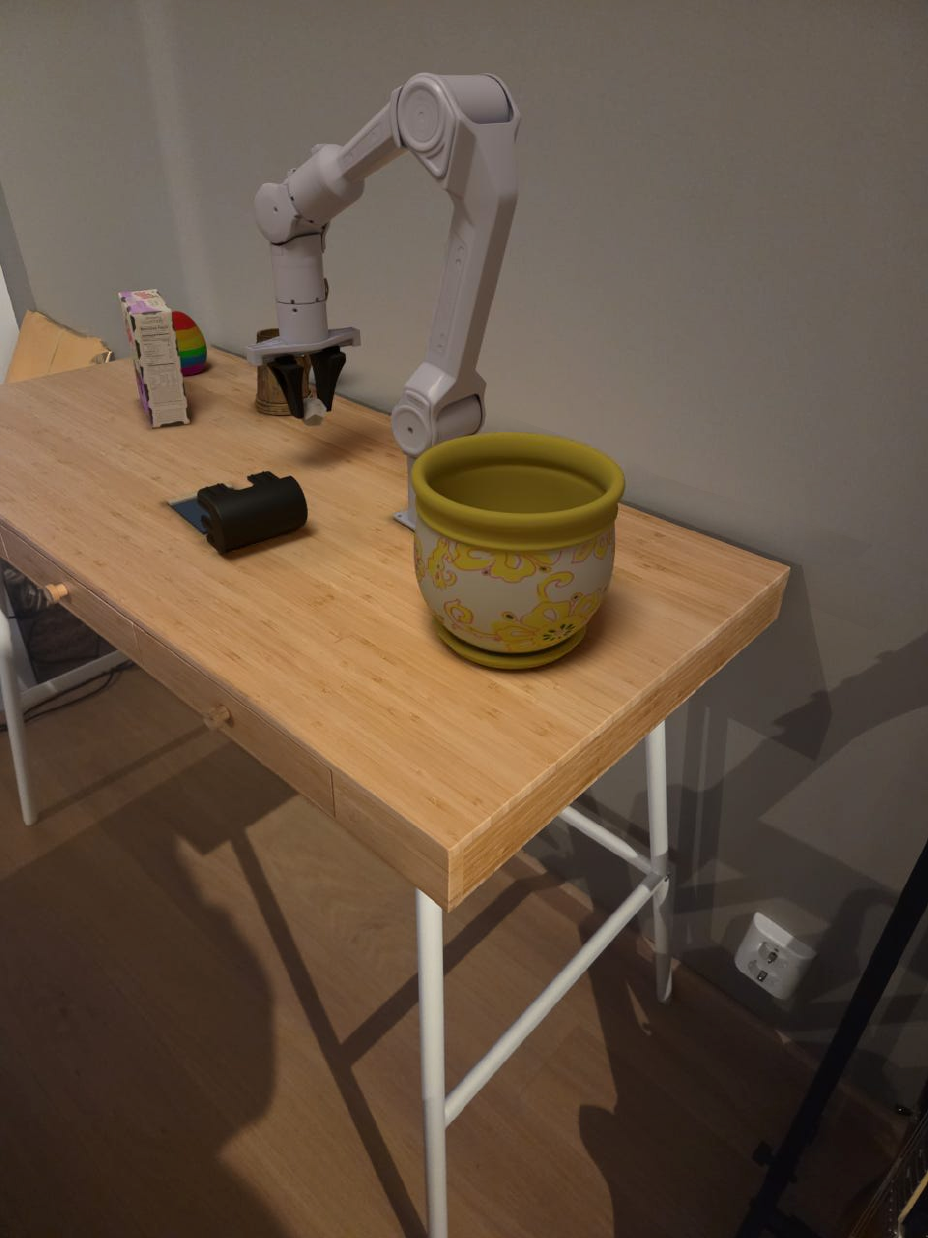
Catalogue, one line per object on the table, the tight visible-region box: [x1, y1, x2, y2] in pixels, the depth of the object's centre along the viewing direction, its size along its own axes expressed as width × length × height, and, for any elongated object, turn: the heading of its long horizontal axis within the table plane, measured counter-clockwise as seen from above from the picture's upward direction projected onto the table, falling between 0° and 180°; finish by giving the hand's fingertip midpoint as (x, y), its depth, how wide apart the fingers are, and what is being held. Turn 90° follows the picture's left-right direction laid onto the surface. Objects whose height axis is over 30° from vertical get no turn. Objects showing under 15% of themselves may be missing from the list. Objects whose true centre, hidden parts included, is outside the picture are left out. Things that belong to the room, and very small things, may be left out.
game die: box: [300, 396, 327, 427], centre depth 103 cm, size 4×4×3 cm
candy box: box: [117, 288, 191, 429], centre depth 122 cm, size 14×6×16 cm, turn 25°
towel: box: [166, 482, 234, 535], centre depth 99 cm, size 10×8×1 cm
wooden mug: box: [254, 277, 330, 416], centre depth 126 cm, size 9×14×18 cm, turn 126°
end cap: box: [196, 470, 309, 555], centre depth 91 cm, size 10×7×7 cm
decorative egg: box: [172, 310, 208, 377], centre depth 141 cm, size 8×8×10 cm
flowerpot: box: [410, 431, 626, 670], centre depth 74 cm, size 18×18×16 cm
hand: (311, 412), depth 103 cm, fingers closed on game die, 3 cm apart
